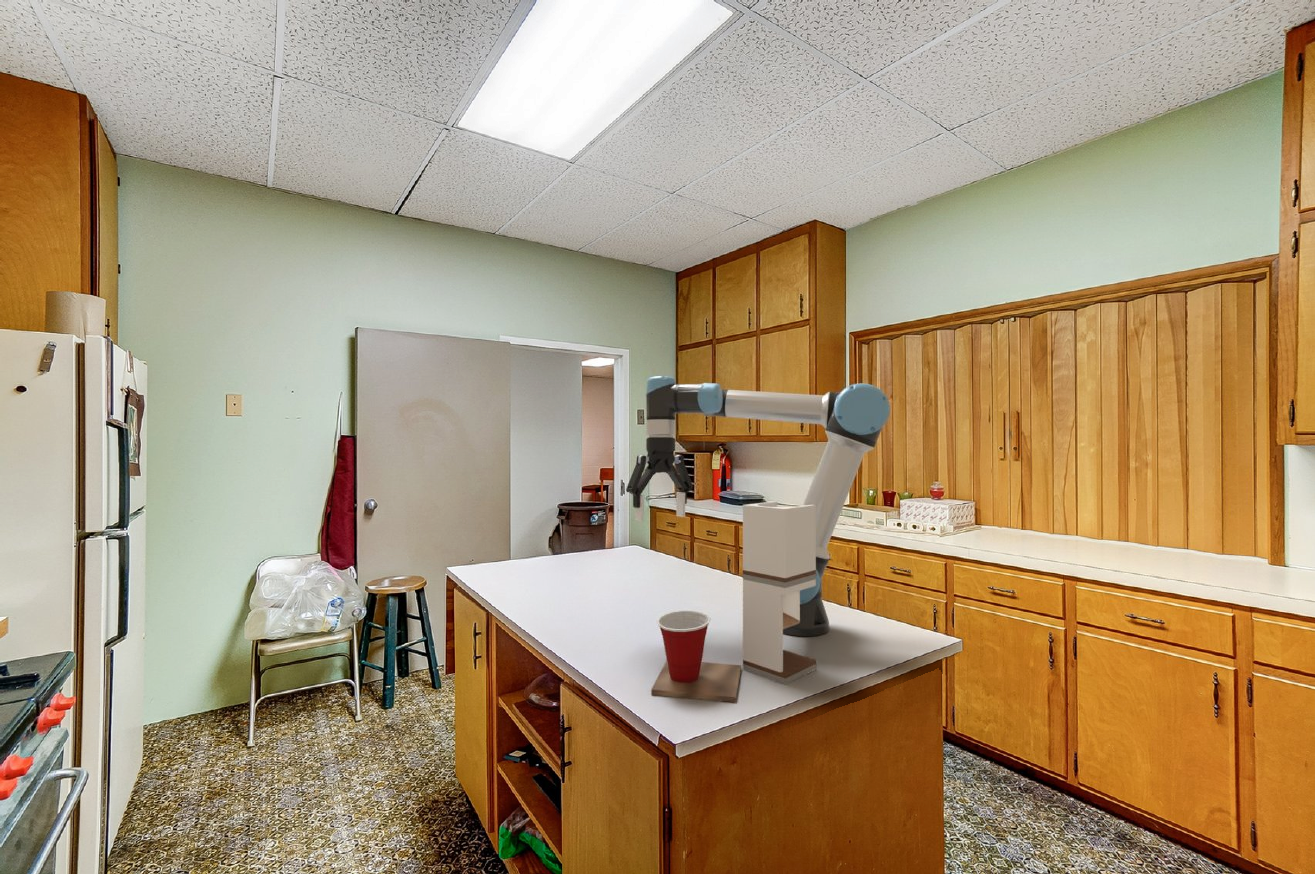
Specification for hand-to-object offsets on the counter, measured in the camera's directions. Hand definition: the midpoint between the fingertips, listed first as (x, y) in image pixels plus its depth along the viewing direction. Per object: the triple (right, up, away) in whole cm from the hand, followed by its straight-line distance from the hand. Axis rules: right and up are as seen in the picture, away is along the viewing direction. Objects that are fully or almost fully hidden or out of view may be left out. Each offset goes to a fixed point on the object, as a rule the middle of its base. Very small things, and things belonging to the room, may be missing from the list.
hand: (660, 518), depth 149 cm
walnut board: (+8, -28, -33) cm, 44 cm away
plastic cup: (+4, -27, -33) cm, 43 cm away
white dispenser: (+25, -29, -26) cm, 46 cm away
